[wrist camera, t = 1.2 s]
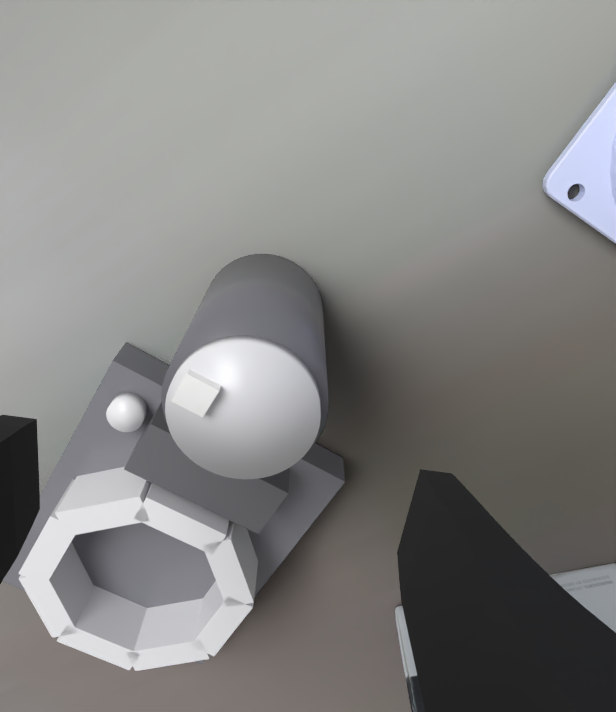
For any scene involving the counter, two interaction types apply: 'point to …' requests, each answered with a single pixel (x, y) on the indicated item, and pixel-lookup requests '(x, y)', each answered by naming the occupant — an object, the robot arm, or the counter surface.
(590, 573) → the tea box
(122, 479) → the grey square plate
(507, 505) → the counter surface
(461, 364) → the counter surface
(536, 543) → the counter surface
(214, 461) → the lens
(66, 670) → the counter surface
